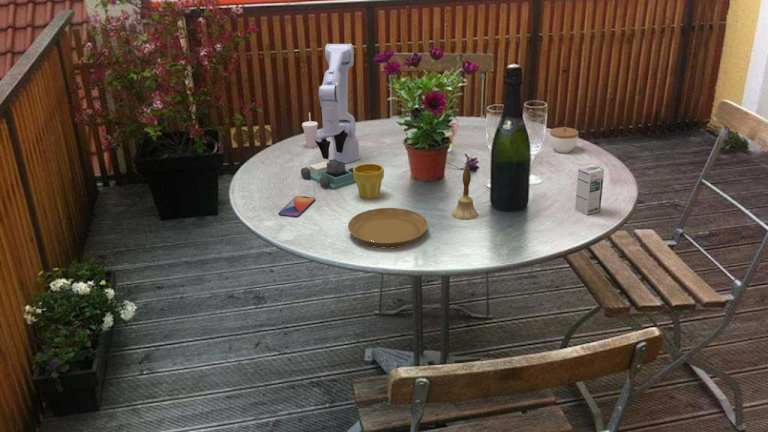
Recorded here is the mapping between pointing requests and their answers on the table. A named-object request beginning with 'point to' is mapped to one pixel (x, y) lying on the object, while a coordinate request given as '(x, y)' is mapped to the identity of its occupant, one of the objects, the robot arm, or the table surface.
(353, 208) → the table surface
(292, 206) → the smartphone
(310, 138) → the smoothie
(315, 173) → the chassis
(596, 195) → the syrup box
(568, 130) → the lidded jar
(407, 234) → the plant saucer
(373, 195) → the plant pot
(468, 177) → the hand bell
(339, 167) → the dark grey upright block
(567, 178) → the table surface
